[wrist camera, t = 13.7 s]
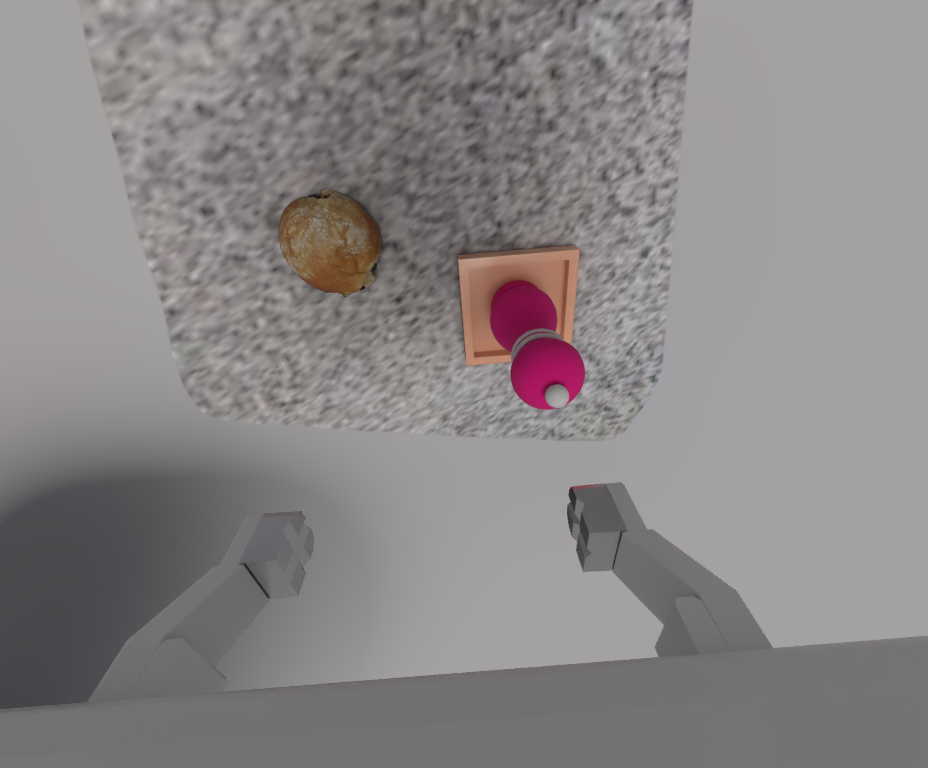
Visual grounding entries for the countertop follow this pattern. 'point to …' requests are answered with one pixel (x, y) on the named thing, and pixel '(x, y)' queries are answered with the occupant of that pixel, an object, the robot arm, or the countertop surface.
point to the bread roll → (330, 242)
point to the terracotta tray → (494, 269)
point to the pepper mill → (535, 346)
